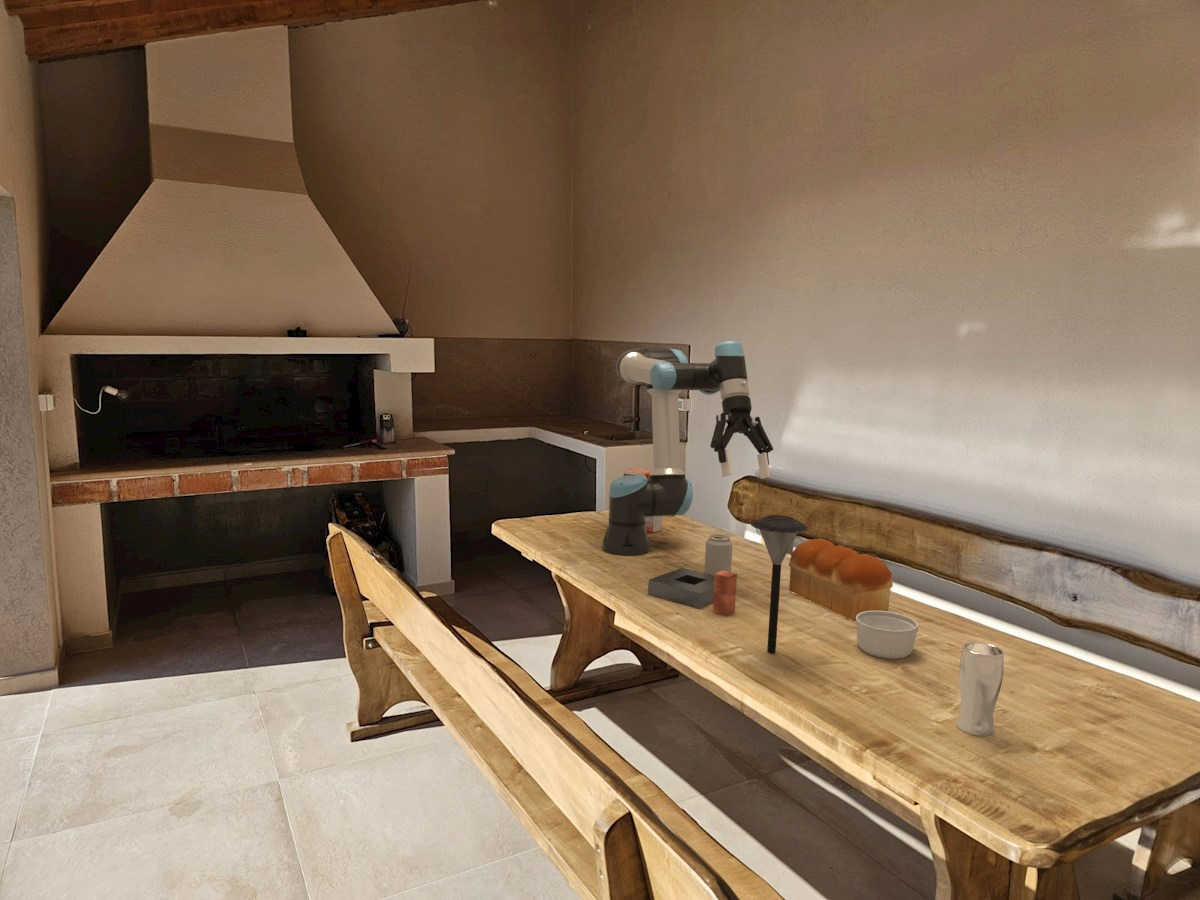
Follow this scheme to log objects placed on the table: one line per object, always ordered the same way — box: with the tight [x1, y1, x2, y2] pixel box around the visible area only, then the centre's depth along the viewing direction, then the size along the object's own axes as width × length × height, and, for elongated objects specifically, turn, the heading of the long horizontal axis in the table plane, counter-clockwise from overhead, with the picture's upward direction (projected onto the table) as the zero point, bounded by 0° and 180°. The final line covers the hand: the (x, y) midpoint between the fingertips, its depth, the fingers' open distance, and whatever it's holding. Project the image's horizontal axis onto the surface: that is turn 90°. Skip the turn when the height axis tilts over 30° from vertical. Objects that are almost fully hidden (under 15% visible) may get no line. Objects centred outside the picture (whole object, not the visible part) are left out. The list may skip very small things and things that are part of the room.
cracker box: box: [623, 467, 663, 534], centre depth 286 cm, size 14×6×21 cm, turn 50°
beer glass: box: [956, 641, 1005, 738], centre depth 144 cm, size 7×7×15 cm
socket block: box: [647, 567, 715, 609], centre depth 215 cm, size 16×16×4 cm
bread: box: [788, 537, 894, 621], centre depth 212 cm, size 25×12×15 cm, turn 27°
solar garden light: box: [750, 514, 809, 654], centre depth 176 cm, size 12×12×30 cm
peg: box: [712, 571, 738, 617], centre depth 202 cm, size 4×4×10 cm
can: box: [703, 533, 733, 576], centre depth 231 cm, size 8×8×12 cm
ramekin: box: [854, 611, 919, 660], centre depth 181 cm, size 13×13×7 cm
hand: (746, 476), depth 209 cm, fingers open, 13 cm apart
